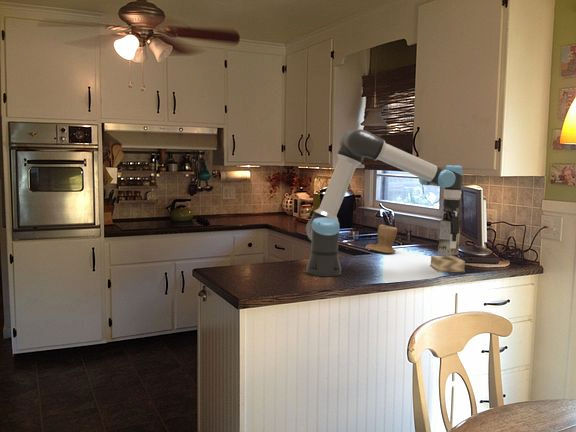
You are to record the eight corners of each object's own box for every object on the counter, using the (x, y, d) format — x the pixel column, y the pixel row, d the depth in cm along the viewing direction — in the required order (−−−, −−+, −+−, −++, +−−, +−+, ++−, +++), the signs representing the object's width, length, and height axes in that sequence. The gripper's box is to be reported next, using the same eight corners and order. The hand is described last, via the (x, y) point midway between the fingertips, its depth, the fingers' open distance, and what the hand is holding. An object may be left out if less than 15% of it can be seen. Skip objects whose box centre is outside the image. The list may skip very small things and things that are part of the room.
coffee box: (450, 256, 253) (453, 221, 251) (437, 254, 257) (440, 220, 255) (458, 254, 260) (461, 220, 258) (445, 252, 264) (448, 218, 262)
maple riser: (438, 271, 252) (438, 260, 252) (429, 266, 265) (430, 255, 264) (464, 272, 253) (465, 261, 253) (455, 266, 265) (456, 256, 265)
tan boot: (400, 253, 297) (402, 225, 295) (385, 255, 289) (387, 227, 288) (379, 249, 308) (380, 222, 307) (364, 250, 301) (366, 223, 299)
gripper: (469, 201, 244) (465, 250, 247) (451, 197, 267) (448, 242, 269) (452, 200, 244) (449, 250, 246) (436, 196, 266) (433, 242, 269)
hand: (448, 246), depth 258 cm, fingers closed on coffee box, 10 cm apart
